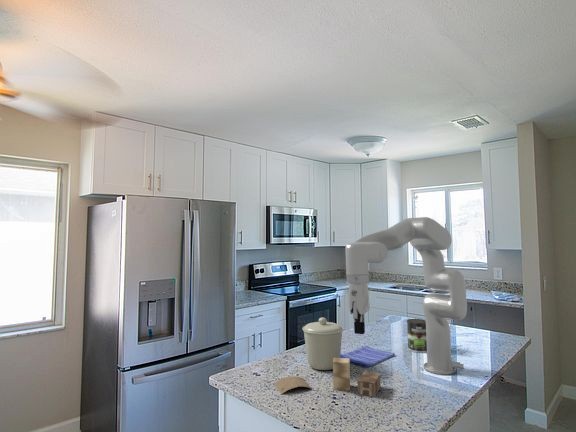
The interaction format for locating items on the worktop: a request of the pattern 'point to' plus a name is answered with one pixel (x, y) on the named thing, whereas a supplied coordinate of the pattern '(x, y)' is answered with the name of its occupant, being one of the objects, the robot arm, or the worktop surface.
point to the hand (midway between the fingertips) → (359, 333)
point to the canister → (322, 343)
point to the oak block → (341, 374)
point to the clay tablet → (290, 383)
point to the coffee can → (417, 335)
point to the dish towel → (367, 356)
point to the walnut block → (369, 384)
